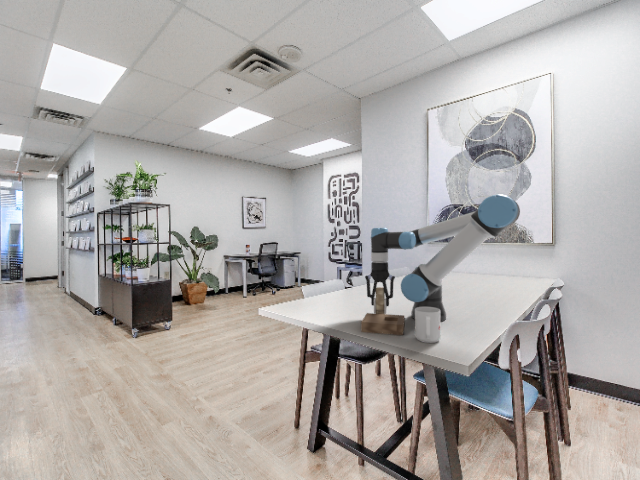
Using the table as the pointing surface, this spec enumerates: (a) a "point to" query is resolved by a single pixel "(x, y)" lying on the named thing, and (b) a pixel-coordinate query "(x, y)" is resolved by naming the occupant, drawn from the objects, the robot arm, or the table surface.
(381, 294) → the peg
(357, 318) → the table surface
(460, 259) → the robot arm
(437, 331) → the mug
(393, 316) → the board
